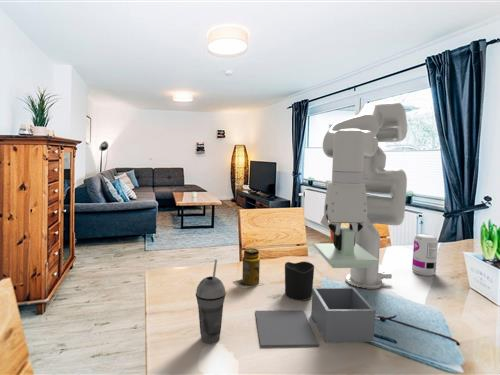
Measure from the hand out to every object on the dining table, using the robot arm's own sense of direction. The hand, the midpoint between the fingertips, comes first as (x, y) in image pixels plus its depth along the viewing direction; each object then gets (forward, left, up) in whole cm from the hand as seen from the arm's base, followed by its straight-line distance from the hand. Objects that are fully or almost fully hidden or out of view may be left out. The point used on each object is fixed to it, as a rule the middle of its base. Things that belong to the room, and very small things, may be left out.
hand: (343, 248), depth 83 cm
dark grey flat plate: (+15, 0, -21) cm, 26 cm away
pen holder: (+7, -20, -22) cm, 30 cm away
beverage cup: (+34, +5, -22) cm, 41 cm away
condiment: (+23, -30, -22) cm, 43 cm away
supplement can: (-47, -39, -22) cm, 65 cm away
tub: (0, 0, -21) cm, 21 cm away
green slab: (0, 0, -3) cm, 3 cm away
